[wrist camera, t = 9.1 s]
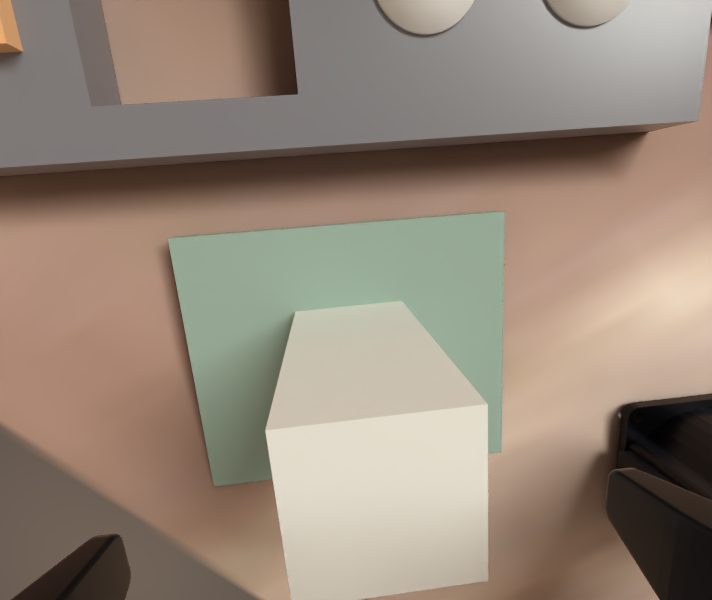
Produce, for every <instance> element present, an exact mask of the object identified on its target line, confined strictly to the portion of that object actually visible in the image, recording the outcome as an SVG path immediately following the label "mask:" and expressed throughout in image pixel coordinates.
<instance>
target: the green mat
mask: <svg viewBox="0 0 712 600" xmlns="http://www.w3.org/2000/svg"><path fill="white" fill-rule="evenodd" d="M504 222H505V212H500V211H493V212H481V213H468V214H456V215H443V216H431V217H418V218H406V219H393V220H381V221H368V222H356V223H343V224H331V225H318V226H306V227H293V228H281V229H268V230H256V231H243V232H231V233H218V234H206V235H193V236H181V237H173V238H169V239H168V243H169V248H170V254H171V259H172V264H173V270H174V275H175V281H176V286H177V291H178V297H179V302H180V307H181V313H182V318H183V324H184V329H185V334H186V340H187V345H188V350H189V356H190V361H191V367H192V372H193V377H194V383H195V388H196V393H197V399H198V404H199V410H200V415H201V420H202V426H203V431H204V436H205V442H206V447H207V453H208V458H209V463H210V469H211V474H212V479H213V485H214V487H215V486H224V485H232V484H240V483H249V482H257V481H266V480H273V478H272V471H271V465H270V458H269V452H268V445H267V439H266V432H265V429H266V425H267V421H268V418H269V414H270V410H271V406H272V402H273V398H274V394H275V390H276V386H277V382H278V378H279V374H280V370H281V366H282V362H283V358H284V354H285V350H286V346H287V342H288V338H289V334H290V330H291V326H292V322H293V318H294V315H295V312H297V311H307V310H317V309H326V308H336V307H346V306H356V305H366V304H376V303H386V302H396V301H402V302H403V303H404V304H405V305H406V307H407V308H408V309H409V310H410V311H411V313H412V314H413V315H414V316H415V317H416V319H417V320H418V321H419V322H420V323H421V325H422V326H423V327H424V328H425V329H426V331H427V332H428V333H429V334H430V335H431V337H432V338H433V339H434V340H435V341H436V343H437V344H438V345H439V346H440V347H441V349H442V350H443V351H444V352H445V353H446V355H447V356H448V357H449V358H450V359H451V361H452V362H453V363H454V364H455V365H456V367H457V368H458V369H459V370H460V371H461V373H462V374H463V375H464V376H465V377H466V379H467V380H468V381H469V382H470V383H471V385H472V386H473V387H474V388H475V389H476V391H477V392H478V393H479V394H480V395H481V397H482V398H483V399H484V400H485V401H486V403H487V404H488V454H492V453H500V452H501V435H502V364H503V293H504Z"/></svg>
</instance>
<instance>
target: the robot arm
mask: <svg viewBox="0 0 712 600" xmlns="http://www.w3.org/2000/svg"><path fill="white" fill-rule="evenodd" d="M636 414H637V415H636ZM635 415H636V416H635ZM634 416H635V417H634ZM606 512H607V515H608V518H609V520H610V522H611V523H612V525H613V527H614V528H615V530H616V531H617V533H618V535H619V536H620V538H621V539H622V541H623V542H624V544H625V546H626V547H627V549H628V550H629V552H630V554H631V555H632V557H633V558H634V560H635V561H636V563H637V565H638V566H639V568H640V569H641V571H642V573H643V574H644V576H645V577H646V579H647V581H648V582H649V584H650V585H651V587H652V588H653V590H654V592H655V593H656V595H657V596H658V598H659V599H660V600H712V394H707V395H698V396H689V397H681V398H672V399H663V400H654V401H645V402H637V403H631V404H628V405H627V406H626V407H625V408H624V409H623V411H622V414H621V424H620V435H619V445H618V456H617V467H616V470H612V471H611V472H610V473H609V475H608V482H607V494H606ZM130 575H131V574H130V567H129V563H128V559H127V555H126V552H125V548H124V544H123V540H122V538H121V537H120V535H118V534H108V535H101V536H95V537H93V538H91V539H89V540H88V541H87V542H85V543H84V544H83V545H82V546H80V547H79V548H78V549H76V550H75V551H74V552H73V553H71V554H70V555H68V556H67V557H66V558H65V559H63V560H62V561H61V562H59V563H58V564H57V565H55V566H54V567H53V568H52V569H50V570H49V571H48V572H46V573H45V574H44V575H42V576H41V577H40V578H39V579H37V580H36V581H35V582H33V583H32V584H31V585H30V586H28V587H27V588H26V589H24V590H23V591H22V592H20V593H19V594H18V595H17V596H15V597H14V598H13V599H11V600H125V598H126V595H127V591H128V588H129V584H130Z"/></svg>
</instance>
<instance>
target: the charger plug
mask: <svg viewBox="0 0 712 600" xmlns="http://www.w3.org/2000/svg"><path fill="white" fill-rule="evenodd" d="M265 432H266V439H267V445H268V452H269V458H270V465H271V471H272V478H273V484H274V491H275V498H276V504H277V511H278V517H279V524H280V530H281V537H282V543H283V550H284V557H285V563H286V570H287V576H288V583H289V589H290V596H291V600H361V599H368V598H374V597H381V596H388V595H395V594H402V593H409V592H416V591H422V590H429V589H436V588H443V587H450V586H457V585H464V584H470V583H477V582H484V581H488V404H487V403H486V401H485V400H484V399H483V398H482V397H481V395H480V394H479V393H478V392H477V391H476V389H475V388H474V387H473V386H472V385H471V383H470V382H469V381H468V380H467V379H466V377H465V376H464V375H463V374H462V373H461V371H460V370H459V369H458V368H457V367H456V365H455V364H454V363H453V362H452V361H451V359H450V358H449V357H448V356H447V355H446V353H445V352H444V351H443V350H442V349H441V347H440V346H439V345H438V344H437V343H436V341H435V340H434V339H433V338H432V337H431V335H430V334H429V333H428V332H427V331H426V329H425V328H424V327H423V326H422V325H421V323H420V322H419V321H418V320H417V319H416V317H415V316H414V315H413V314H412V313H411V311H410V310H409V309H408V308H407V307H406V305H405V304H404V303H403V302H402V301H396V302H386V303H376V304H366V305H356V306H346V307H336V308H326V309H317V310H307V311H297V312H295V315H294V318H293V322H292V326H291V330H290V334H289V338H288V342H287V346H286V350H285V354H284V358H283V362H282V366H281V370H280V374H279V378H278V382H277V386H276V390H275V394H274V398H273V402H272V406H271V410H270V414H269V418H268V421H267V425H266V429H265Z"/></svg>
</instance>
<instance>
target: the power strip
mask: <svg viewBox="0 0 712 600" xmlns="http://www.w3.org/2000/svg"><path fill="white" fill-rule="evenodd" d="M289 7H290V17H291V27H292V37H293V47H294V57H295V67H296V77H297V87H298V94H296V95H279V96H262V97H245V98H228V99H212V100H195V101H178V102H161V103H144V104H127V105H121V101H120V96H119V91H118V86H117V81H116V76H115V71H114V66H113V60H112V55H111V50H110V45H109V40H108V35H107V30H106V25H105V20H104V15H103V10H102V5H101V0H0V176H11V175H25V174H40V173H54V172H69V171H84V170H98V169H113V168H127V167H142V166H156V165H171V164H185V163H200V162H214V161H229V160H244V159H258V158H273V157H287V156H302V155H316V154H331V153H345V152H360V151H374V150H389V149H404V148H418V147H433V146H447V145H462V144H476V143H491V142H505V141H520V140H534V139H549V138H563V137H578V136H593V135H607V134H622V133H636V132H650V131H655V130H659V129H664V128H668V127H672V126H677V125H681V124H686V123H690V122H695V121H698V120H699V112H700V103H701V95H702V87H703V79H704V70H705V62H706V54H707V46H708V37H709V29H710V21H711V13H712V0H289Z"/></svg>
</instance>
